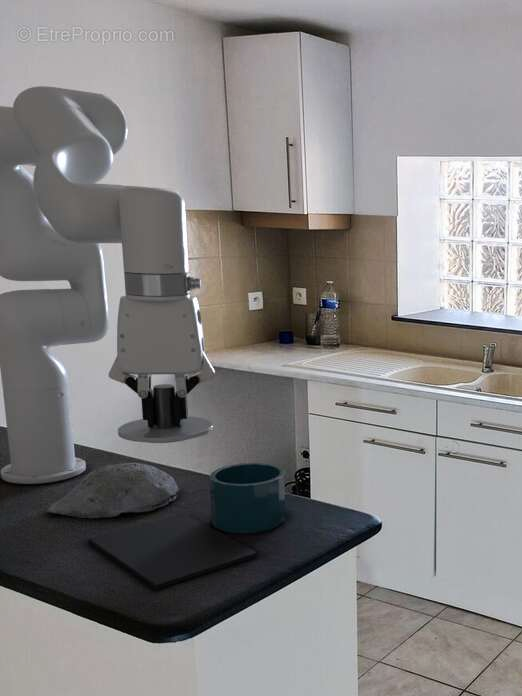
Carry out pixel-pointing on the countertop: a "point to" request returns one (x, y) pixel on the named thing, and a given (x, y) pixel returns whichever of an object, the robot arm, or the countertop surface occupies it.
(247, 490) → the pot
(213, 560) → the mat
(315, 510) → the countertop surface
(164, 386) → the lid
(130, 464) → the stone
